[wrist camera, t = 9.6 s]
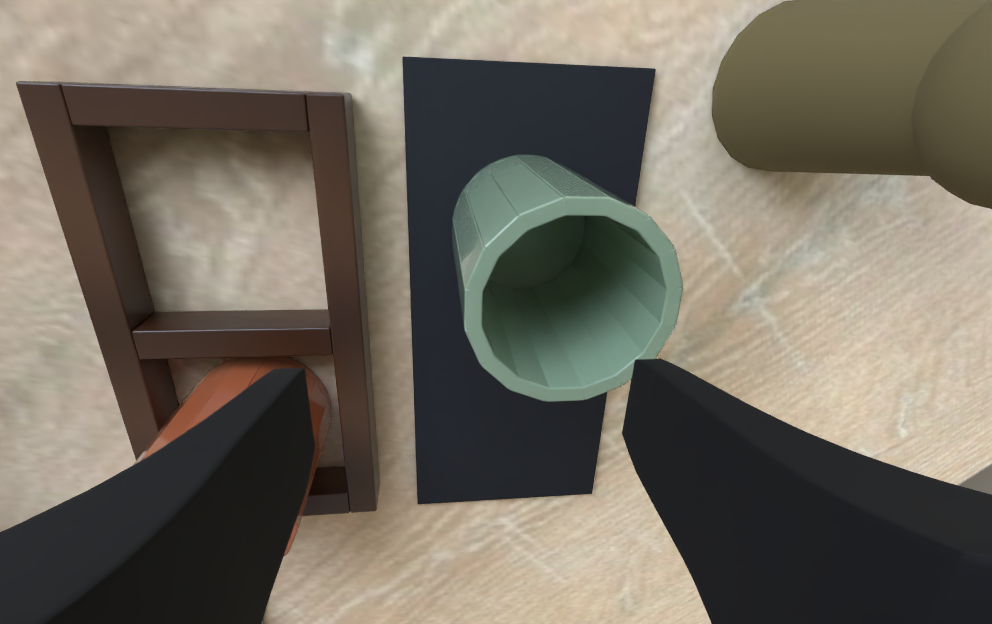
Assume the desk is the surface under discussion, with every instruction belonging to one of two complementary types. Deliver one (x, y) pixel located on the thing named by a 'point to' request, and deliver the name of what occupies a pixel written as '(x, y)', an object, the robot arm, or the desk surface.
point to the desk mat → (433, 280)
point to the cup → (560, 279)
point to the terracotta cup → (225, 386)
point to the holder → (211, 334)
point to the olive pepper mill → (864, 91)
